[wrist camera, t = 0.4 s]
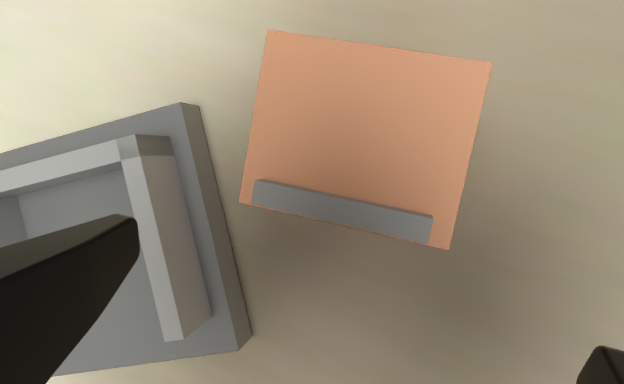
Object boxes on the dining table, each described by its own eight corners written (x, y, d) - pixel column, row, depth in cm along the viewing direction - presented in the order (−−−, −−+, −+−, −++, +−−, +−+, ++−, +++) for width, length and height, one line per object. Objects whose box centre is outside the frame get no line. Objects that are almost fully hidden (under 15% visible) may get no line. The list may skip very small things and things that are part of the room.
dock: (252, 335, 26) (213, 379, 21) (59, 363, 29) (-14, 407, 24) (198, 106, 25) (146, 95, 20) (8, 159, 28) (-78, 160, 23)
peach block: (431, 199, 23) (450, 256, 11) (324, 177, 24) (229, 205, 12) (451, 109, 22) (496, 57, 10) (340, 90, 23) (259, 23, 11)
